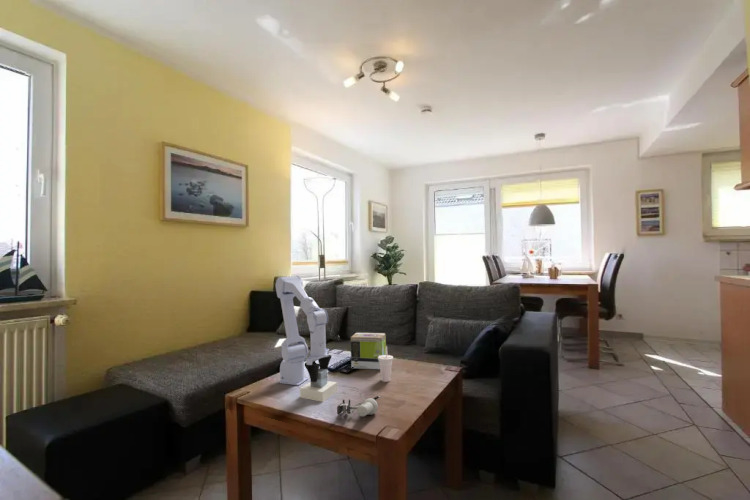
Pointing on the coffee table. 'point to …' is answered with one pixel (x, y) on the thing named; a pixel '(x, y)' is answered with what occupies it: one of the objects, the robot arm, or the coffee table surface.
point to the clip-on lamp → (359, 407)
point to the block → (320, 379)
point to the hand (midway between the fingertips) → (318, 378)
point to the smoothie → (385, 366)
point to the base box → (318, 391)
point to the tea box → (367, 350)
